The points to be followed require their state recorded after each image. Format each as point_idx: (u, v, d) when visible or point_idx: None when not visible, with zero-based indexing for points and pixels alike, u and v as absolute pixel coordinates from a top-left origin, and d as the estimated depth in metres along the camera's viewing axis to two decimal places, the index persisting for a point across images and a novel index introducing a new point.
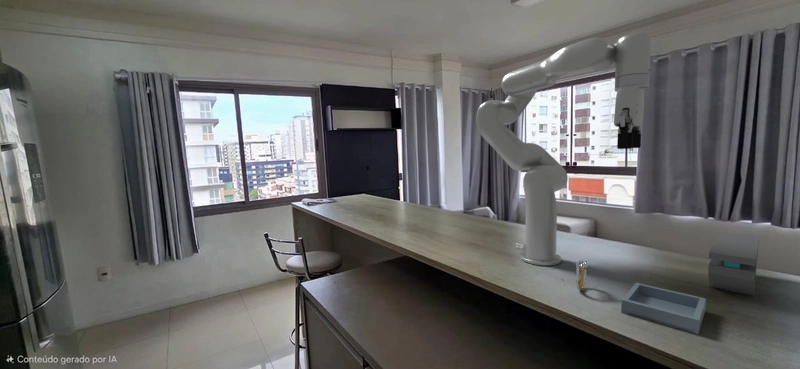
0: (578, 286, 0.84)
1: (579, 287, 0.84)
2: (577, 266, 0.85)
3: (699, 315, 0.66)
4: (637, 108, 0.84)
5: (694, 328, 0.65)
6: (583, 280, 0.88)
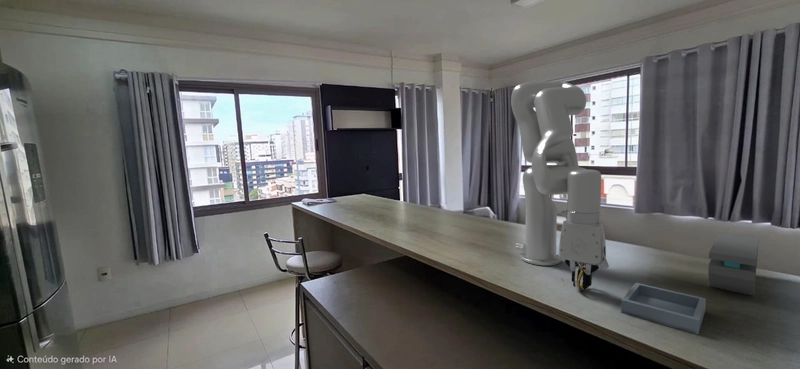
0: (577, 286, 0.84)
1: (578, 287, 0.84)
2: (576, 266, 0.85)
3: (699, 315, 0.66)
4: None
5: (694, 328, 0.65)
6: None
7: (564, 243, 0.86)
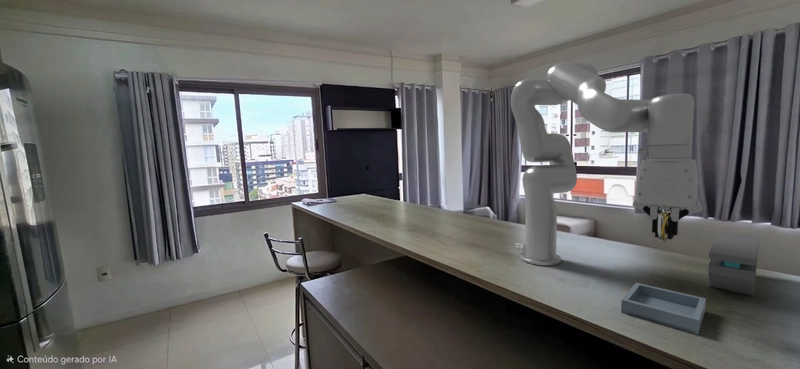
0: (660, 235, 0.70)
1: (662, 236, 0.70)
2: (659, 212, 0.71)
3: (699, 315, 0.66)
4: None
5: (694, 328, 0.65)
6: (667, 231, 0.74)
7: (644, 185, 0.72)
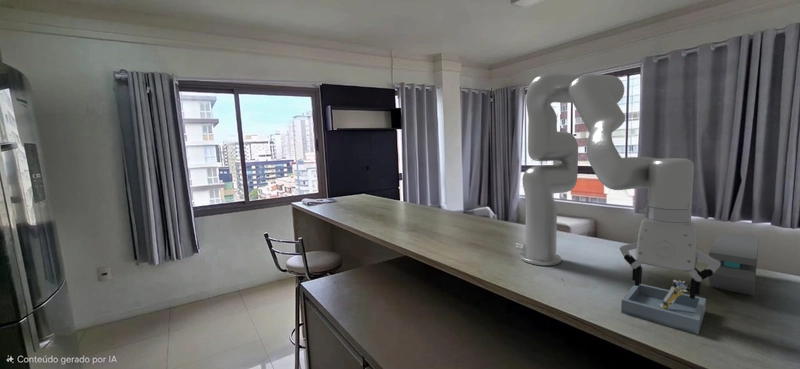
0: (662, 306, 0.71)
1: (662, 307, 0.71)
2: (673, 286, 0.70)
3: (699, 315, 0.66)
4: None
5: (694, 328, 0.65)
6: None
7: (644, 245, 0.73)
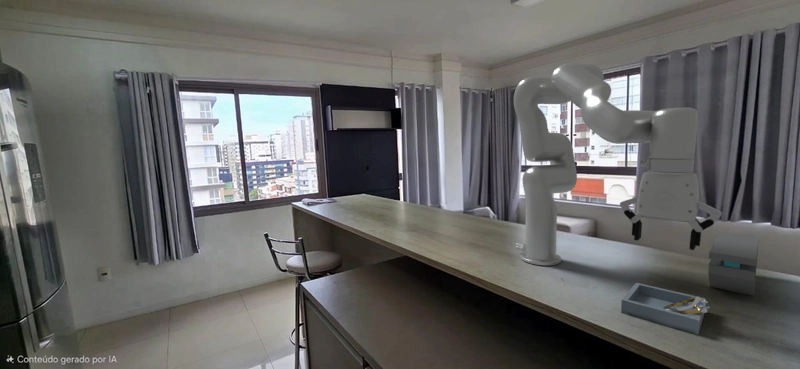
0: None
1: None
2: (694, 303, 0.67)
3: (699, 315, 0.66)
4: None
5: (694, 328, 0.65)
6: (677, 304, 0.73)
7: (645, 197, 0.72)
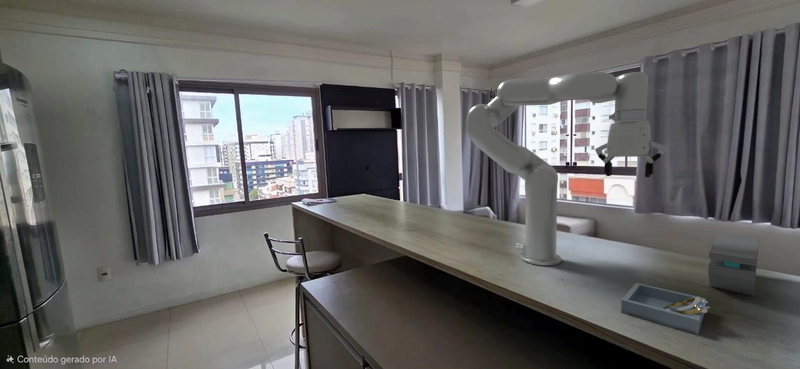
0: None
1: None
2: (694, 303, 0.67)
3: (699, 315, 0.66)
4: None
5: (694, 328, 0.65)
6: (677, 304, 0.73)
7: (612, 141, 0.96)
